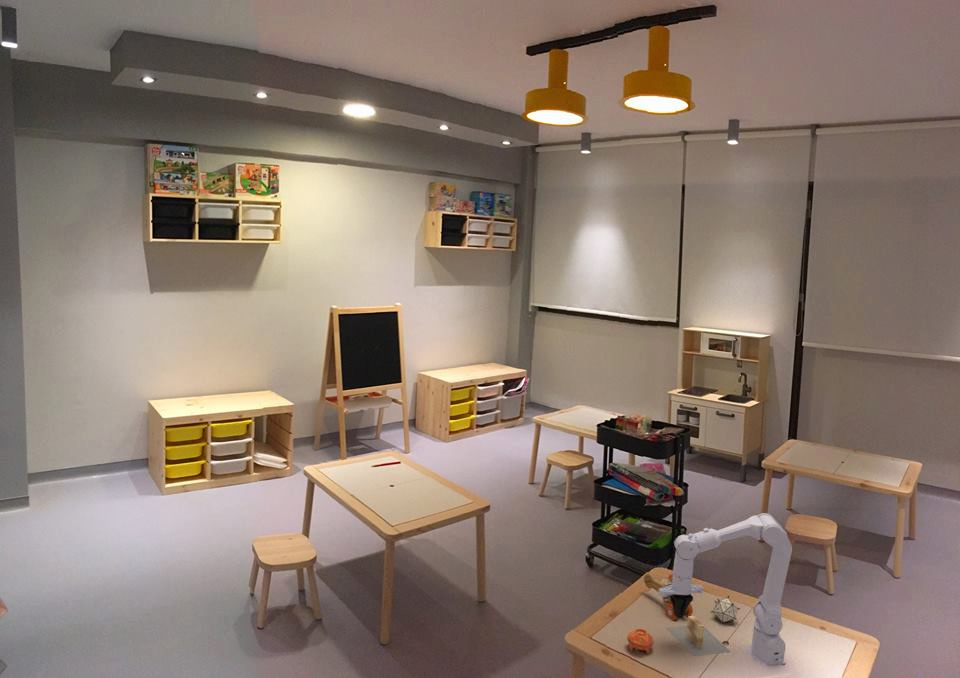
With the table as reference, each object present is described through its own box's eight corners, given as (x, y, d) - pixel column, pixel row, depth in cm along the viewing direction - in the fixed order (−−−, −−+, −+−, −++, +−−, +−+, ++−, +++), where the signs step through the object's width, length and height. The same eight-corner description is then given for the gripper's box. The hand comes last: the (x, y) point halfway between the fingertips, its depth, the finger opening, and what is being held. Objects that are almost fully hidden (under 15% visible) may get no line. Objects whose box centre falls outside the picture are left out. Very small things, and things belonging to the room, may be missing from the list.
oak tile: (702, 646, 217) (704, 625, 216) (696, 647, 216) (698, 626, 216) (691, 636, 223) (694, 615, 222) (686, 636, 222) (688, 616, 221)
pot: (635, 659, 209) (634, 635, 210) (623, 650, 216) (622, 627, 217) (659, 655, 211) (658, 632, 212) (646, 646, 219) (645, 624, 219)
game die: (729, 633, 233) (746, 620, 227) (706, 623, 233) (722, 610, 227) (727, 610, 240) (744, 596, 234) (705, 600, 240) (721, 586, 234)
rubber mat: (730, 653, 215) (730, 651, 215) (693, 657, 212) (693, 656, 212) (701, 625, 231) (701, 624, 230) (666, 629, 227) (666, 627, 227)
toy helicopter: (676, 624, 230) (680, 585, 228) (635, 595, 248) (638, 559, 247) (694, 619, 234) (698, 581, 232) (652, 591, 252) (656, 555, 250)
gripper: (696, 566, 221) (691, 607, 222) (655, 570, 217) (651, 611, 218) (708, 577, 214) (704, 618, 216) (666, 580, 210) (662, 623, 212)
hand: (678, 615), depth 217 cm, fingers closed
